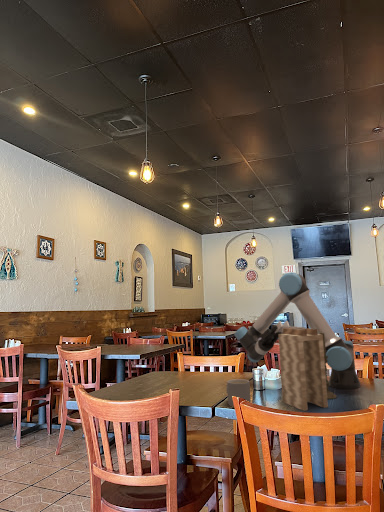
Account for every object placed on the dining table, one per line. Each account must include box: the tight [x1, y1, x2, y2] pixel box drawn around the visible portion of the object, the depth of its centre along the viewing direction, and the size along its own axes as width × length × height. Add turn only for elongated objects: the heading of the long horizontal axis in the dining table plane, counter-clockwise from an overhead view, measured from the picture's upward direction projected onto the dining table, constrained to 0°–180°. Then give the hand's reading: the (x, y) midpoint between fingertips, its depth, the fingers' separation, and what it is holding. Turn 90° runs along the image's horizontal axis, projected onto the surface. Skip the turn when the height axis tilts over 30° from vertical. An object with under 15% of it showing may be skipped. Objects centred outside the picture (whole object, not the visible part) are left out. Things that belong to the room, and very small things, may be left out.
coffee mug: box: [226, 378, 252, 407], centre depth 175 cm, size 13×10×10 cm
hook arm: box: [271, 324, 306, 333], centre depth 182 cm, size 23×4×4 cm, turn 18°
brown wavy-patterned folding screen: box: [278, 327, 329, 412], centre depth 171 cm, size 16×12×32 cm
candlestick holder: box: [320, 332, 338, 400], centre depth 182 cm, size 9×9×30 cm
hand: (284, 323), depth 185 cm, fingers closed on hook arm, 3 cm apart
